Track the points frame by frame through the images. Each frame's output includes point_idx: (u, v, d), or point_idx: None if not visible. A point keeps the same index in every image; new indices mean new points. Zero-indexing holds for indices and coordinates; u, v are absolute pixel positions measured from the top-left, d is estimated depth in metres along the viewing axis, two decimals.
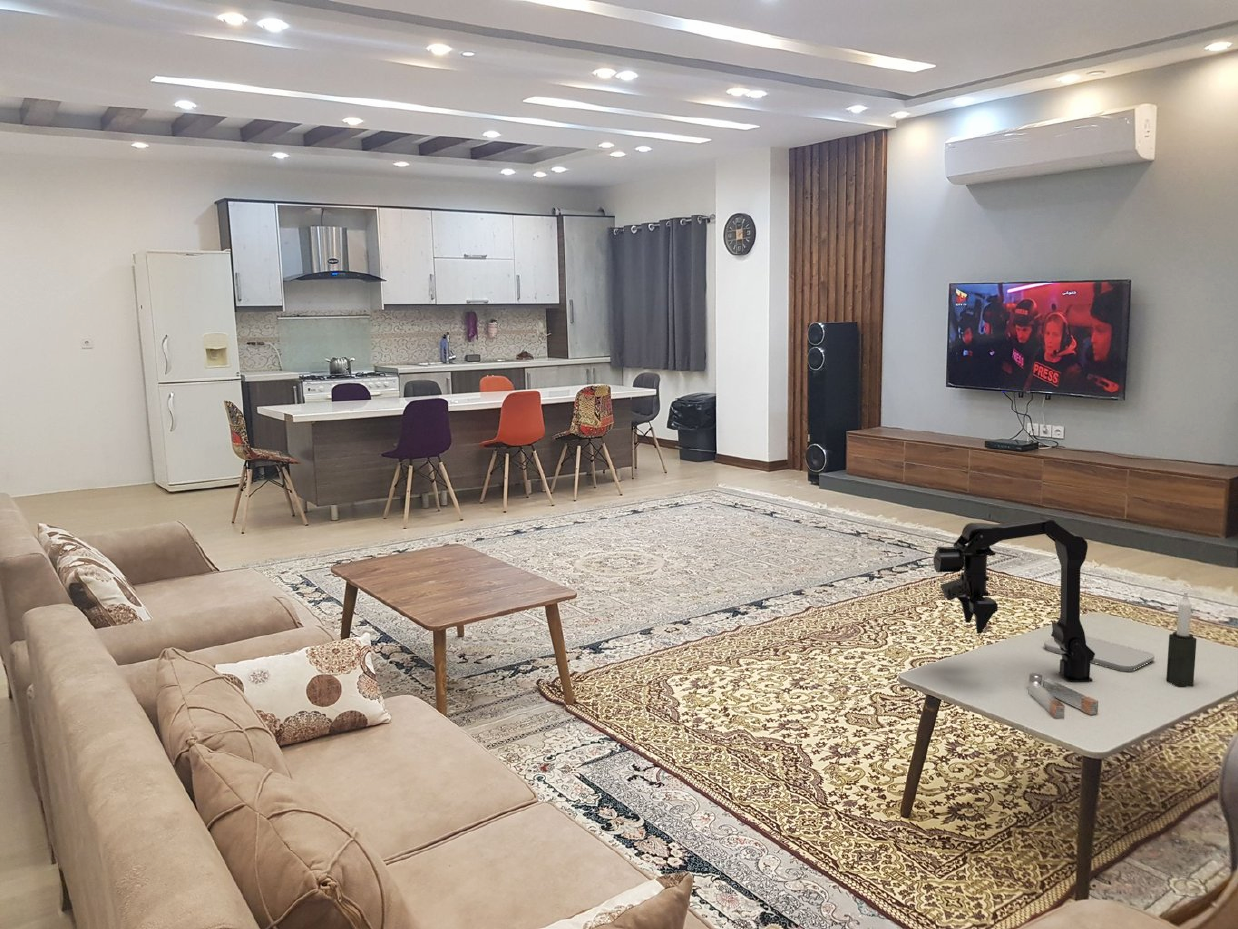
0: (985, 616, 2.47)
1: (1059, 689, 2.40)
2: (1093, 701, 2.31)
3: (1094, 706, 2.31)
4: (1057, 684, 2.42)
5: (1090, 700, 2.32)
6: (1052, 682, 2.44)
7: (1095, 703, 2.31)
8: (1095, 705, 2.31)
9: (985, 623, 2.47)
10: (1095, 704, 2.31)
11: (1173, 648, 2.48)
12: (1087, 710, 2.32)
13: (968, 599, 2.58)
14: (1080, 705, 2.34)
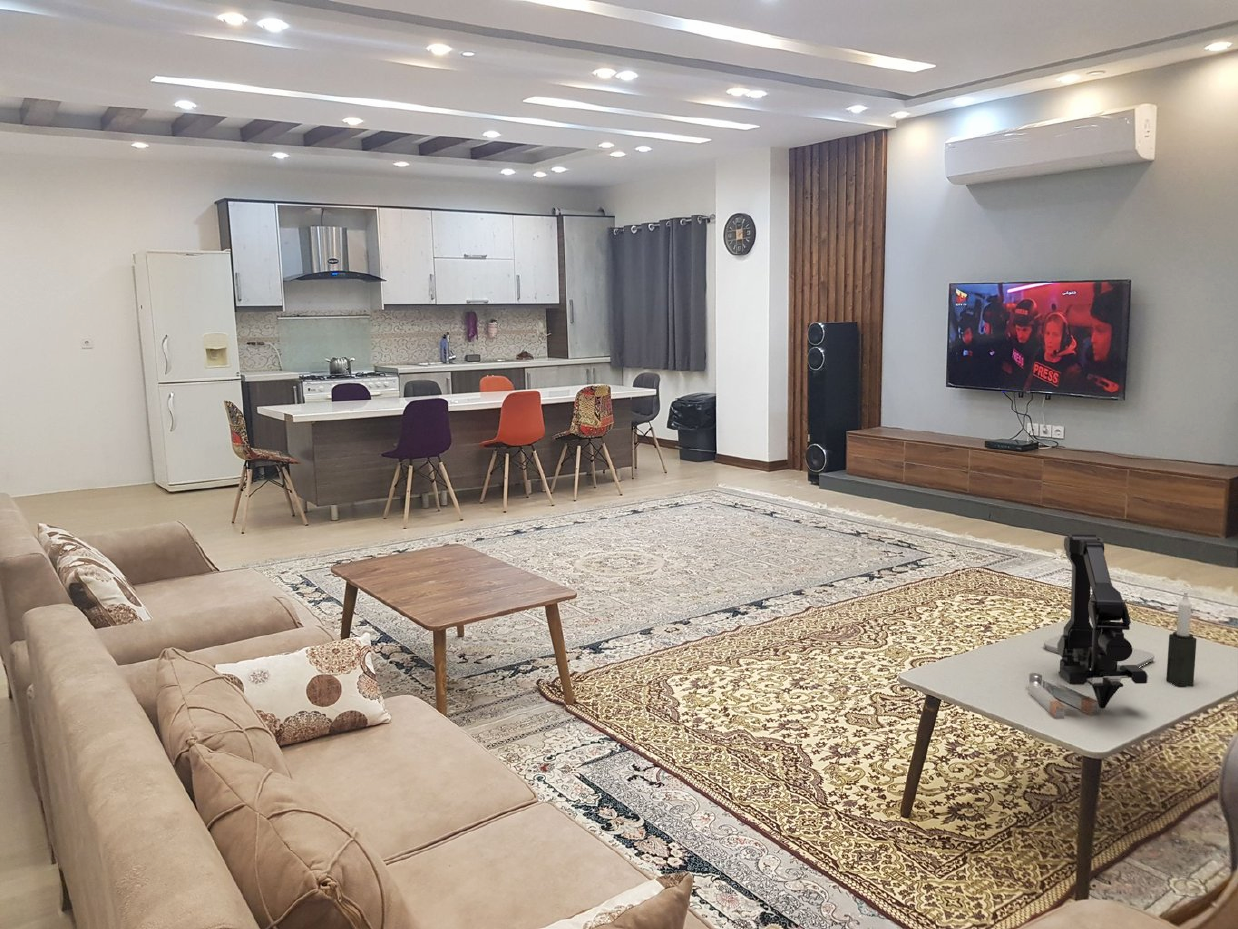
0: None
1: (1059, 689, 2.40)
2: (1093, 701, 2.31)
3: (1094, 706, 2.31)
4: (1057, 684, 2.42)
5: (1090, 700, 2.32)
6: (1052, 682, 2.44)
7: (1095, 703, 2.31)
8: (1095, 705, 2.31)
9: (1099, 697, 2.31)
10: (1095, 704, 2.31)
11: (1173, 648, 2.48)
12: (1087, 710, 2.32)
13: (1105, 683, 2.31)
14: (1080, 705, 2.34)
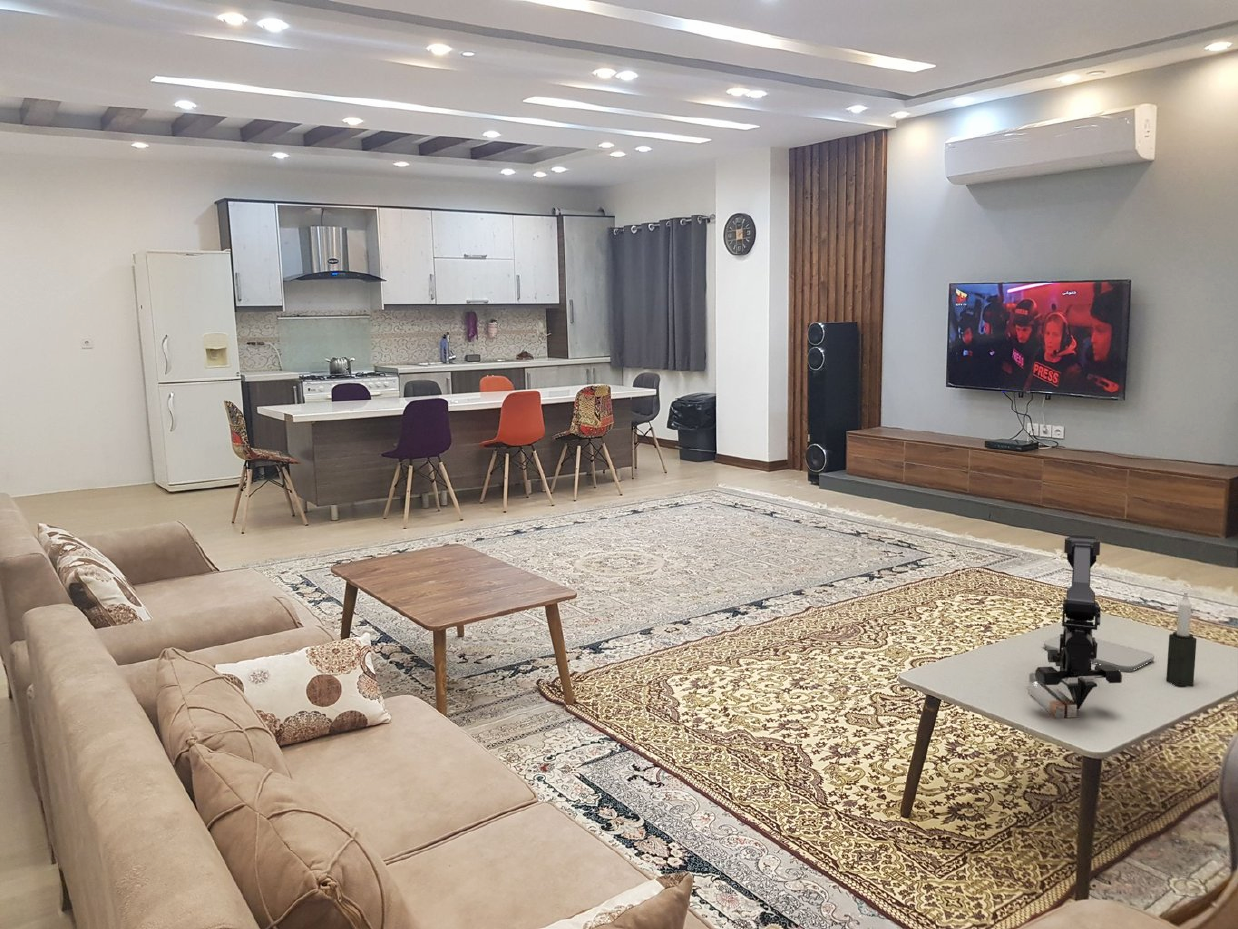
0: None
1: (1050, 690, 2.40)
2: (1071, 704, 2.30)
3: (1071, 709, 2.30)
4: (1051, 686, 2.42)
5: (1069, 702, 2.31)
6: None
7: (1073, 706, 2.29)
8: (1073, 708, 2.30)
9: (1075, 698, 2.30)
10: (1073, 708, 2.30)
11: (1173, 648, 2.48)
12: (1065, 712, 2.31)
13: (1080, 683, 2.31)
14: None
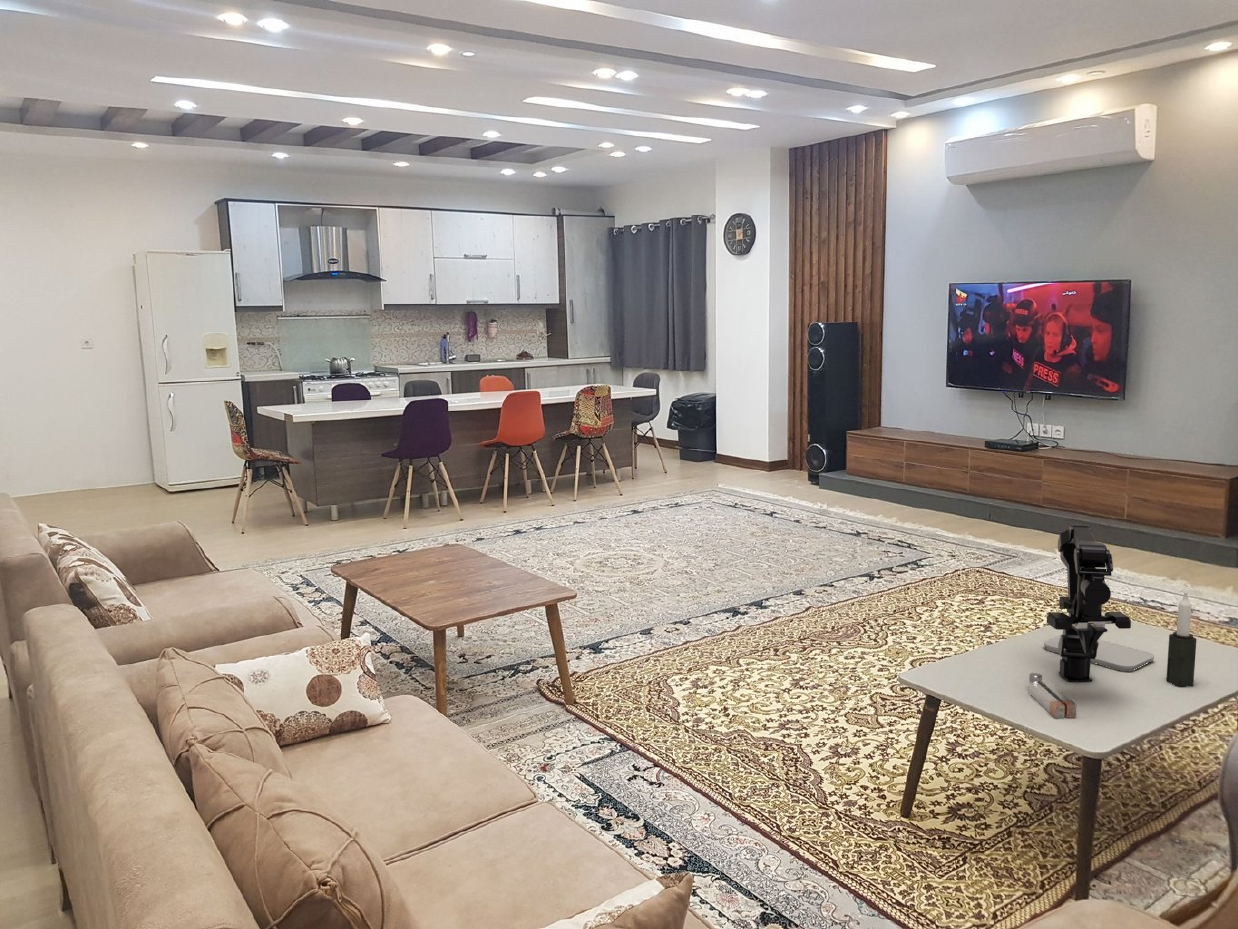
0: None
1: (1049, 690, 2.40)
2: (1071, 704, 2.30)
3: (1071, 709, 2.30)
4: (1051, 686, 2.42)
5: (1069, 702, 2.31)
6: (1048, 683, 2.43)
7: (1073, 706, 2.29)
8: (1073, 708, 2.30)
9: (1084, 643, 2.38)
10: (1073, 708, 2.30)
11: (1173, 648, 2.48)
12: (1065, 712, 2.31)
13: (1090, 629, 2.39)
14: None
